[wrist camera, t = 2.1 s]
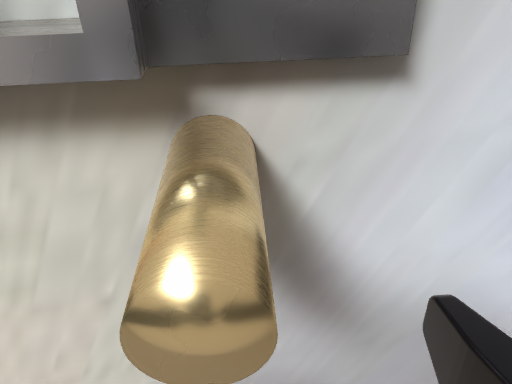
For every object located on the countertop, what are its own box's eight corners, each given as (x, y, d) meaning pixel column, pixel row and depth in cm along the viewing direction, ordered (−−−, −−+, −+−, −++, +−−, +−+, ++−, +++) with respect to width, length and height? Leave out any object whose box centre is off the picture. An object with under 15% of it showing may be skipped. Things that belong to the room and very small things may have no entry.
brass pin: (256, 189, 16) (278, 382, 9) (176, 193, 16) (135, 393, 9) (253, 112, 14) (277, 276, 7) (164, 117, 14) (104, 287, 7)
